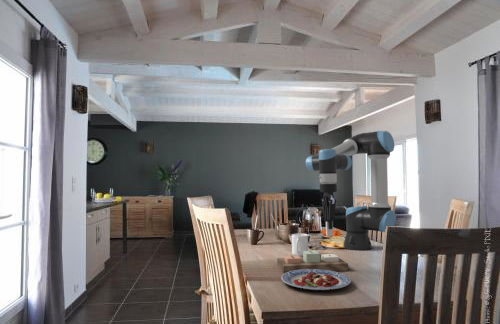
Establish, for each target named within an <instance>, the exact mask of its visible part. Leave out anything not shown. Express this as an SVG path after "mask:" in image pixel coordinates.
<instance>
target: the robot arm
mask: <svg viewBox="0 0 500 324" xmlns="http://www.w3.org/2000/svg"><path fill="white" fill-rule="evenodd" d="M394 150H395V140H394V137H393V135H392V133H390V132H389V131H387V130H377V131H371V132H369V131H368V132H363V133H359V134H358V133H357V134H355V135H353V136H352V137H349V138H346V139H345V140H344V141H343V142H342V143H341V144H338V145H336V146H335V147H332V148H325V149H324V148H323V149H320V150H319V151H318V154H317V155H310V156H308V157H307V158H306V159H305V167H306V169H307V170H308V171H311V172H312V171H313V172H317V171H318V172H319V175H318V179H319V183H320V184H319V192H320V193H323V197H321V203H322V204H321V205H322V213H323V219H324V221H325V236H326V237H334V221H335V220H336V219H335V218H336V204H337V198H335V195H334V193H336V192H337V191H338V184H337V182H338V177H337V175H338V174H337V171H347V170H349V169H350V168H351V167H352V163H353V161H352V158H351V156H355V155H363V154H366V155H367V158H368V159H369V160H370V161H369V162H370V166H369V167H370V204H369V205H368V206H366V205H361V206H351V207H347V208H346V210H345V224H346V225H345V226H346V232H345V237H344V240H343V248H344V249H348V250H352V251H353V250H354V251H366V250H371V249H372V247H373V246H372V242H371V239H370V237H369V231H373V232H380V233H386V232H385V229H386V226H394V227H395V225H396V220H397V216H396V215H397V214H396V212H395V211H394V210H393V209H392V206H391V205H390V203H389V190H388V189H389V187H388V185H389V184H388V182H389V181H388V180H389V179H388V158H390V157H391V153H392V152H393V151H394Z"/></svg>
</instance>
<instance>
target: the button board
mask: <svg viewBox="0 0 500 324" xmlns="http://www.w3.org/2000/svg"><path fill="white" fill-rule="evenodd" d="M299 257H300V258H301V263H291V264H287V263H286V262H285V257H277V260H276V261H277V266H278V268H279V267H280V268H279V269H280V270H281V272H282V273H283V274H285V273H287V272H290V271H294V270H301V269H321V270H329V271H334V272H345V271H349V263H348V262H347V261H345V260H344V259H341V257H339V262H324V261H323V260H321V256H320V262H316V263H306V262H304V261H303V256H299Z"/></svg>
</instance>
